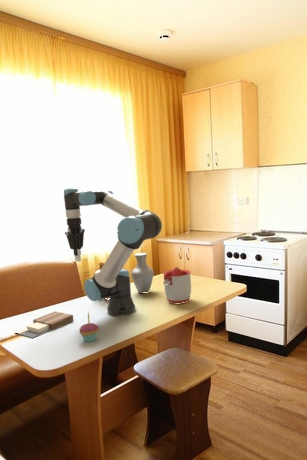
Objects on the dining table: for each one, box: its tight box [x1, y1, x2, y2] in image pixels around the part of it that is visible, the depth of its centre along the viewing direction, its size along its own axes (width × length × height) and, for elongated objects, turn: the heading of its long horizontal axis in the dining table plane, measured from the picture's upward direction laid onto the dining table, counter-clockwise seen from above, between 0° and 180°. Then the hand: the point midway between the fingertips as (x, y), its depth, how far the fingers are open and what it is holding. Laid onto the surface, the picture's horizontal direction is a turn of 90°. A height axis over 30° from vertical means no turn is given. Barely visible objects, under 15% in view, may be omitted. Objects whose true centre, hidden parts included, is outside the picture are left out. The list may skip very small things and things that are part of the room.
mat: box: [20, 329, 52, 339], centre depth 175 cm, size 14×11×1 cm
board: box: [32, 311, 74, 331], centre depth 185 cm, size 14×14×3 cm
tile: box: [26, 322, 49, 333], centre depth 176 cm, size 9×6×2 cm, turn 55°
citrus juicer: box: [162, 266, 192, 304], centre depth 205 cm, size 16×17×20 cm
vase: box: [130, 252, 155, 293], centre depth 228 cm, size 14×14×25 cm
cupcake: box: [79, 311, 100, 343], centre depth 160 cm, size 9×8×12 cm
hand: (78, 261), depth 194 cm, fingers closed
